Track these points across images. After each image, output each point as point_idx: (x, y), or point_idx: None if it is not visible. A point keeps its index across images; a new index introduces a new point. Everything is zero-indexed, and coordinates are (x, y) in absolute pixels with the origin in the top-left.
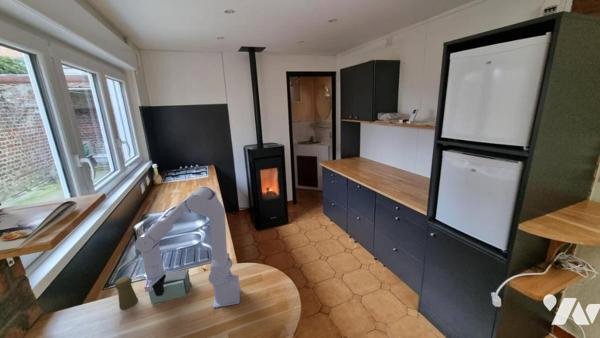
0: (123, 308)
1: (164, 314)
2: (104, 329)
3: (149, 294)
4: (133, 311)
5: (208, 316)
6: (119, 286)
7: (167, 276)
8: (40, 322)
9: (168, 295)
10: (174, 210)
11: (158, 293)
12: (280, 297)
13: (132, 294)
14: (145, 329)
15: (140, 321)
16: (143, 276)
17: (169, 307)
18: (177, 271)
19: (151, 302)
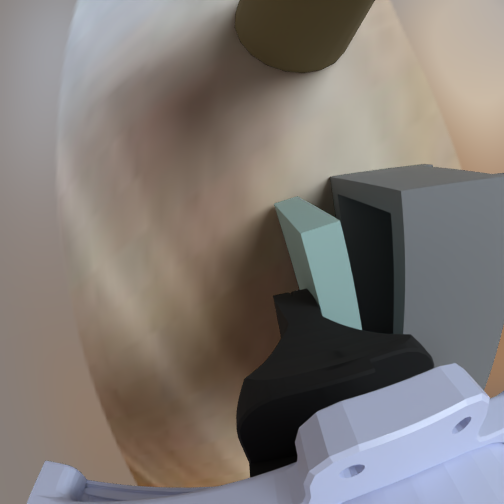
0: (235, 18)
1: (188, 339)
2: (84, 35)
3: (291, 223)
4: (214, 99)
5: (195, 480)
6: None
7: (465, 328)
8: None
9: None
10: None
11: (280, 329)
12: None
13: (312, 29)
14: (83, 288)
15: (126, 218)
16: (325, 472)
17: (243, 340)
18: (488, 364)
19: (276, 209)
